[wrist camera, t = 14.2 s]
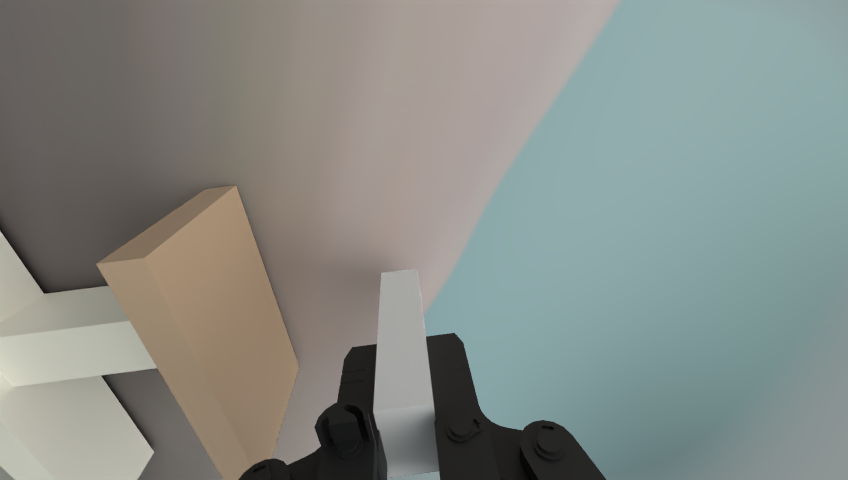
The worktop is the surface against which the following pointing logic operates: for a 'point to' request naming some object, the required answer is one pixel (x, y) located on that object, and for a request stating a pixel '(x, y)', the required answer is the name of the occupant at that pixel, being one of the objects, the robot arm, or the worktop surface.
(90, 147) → the worktop surface
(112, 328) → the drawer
